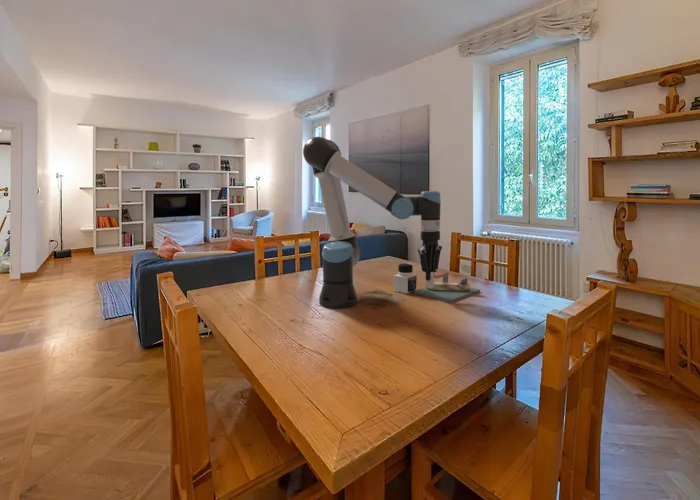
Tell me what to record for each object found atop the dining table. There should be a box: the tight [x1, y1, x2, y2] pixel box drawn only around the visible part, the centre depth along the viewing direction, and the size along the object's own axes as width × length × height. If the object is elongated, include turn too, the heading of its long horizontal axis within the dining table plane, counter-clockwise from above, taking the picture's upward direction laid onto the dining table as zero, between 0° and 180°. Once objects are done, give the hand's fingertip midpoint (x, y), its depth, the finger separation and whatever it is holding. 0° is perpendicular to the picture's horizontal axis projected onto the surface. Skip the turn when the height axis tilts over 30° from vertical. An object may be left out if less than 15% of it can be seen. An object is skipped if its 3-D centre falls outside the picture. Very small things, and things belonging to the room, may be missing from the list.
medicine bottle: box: [393, 262, 417, 294], centre depth 164 cm, size 7×7×12 cm
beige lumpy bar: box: [426, 281, 471, 291], centre depth 162 cm, size 18×5×2 cm, turn 82°
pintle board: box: [413, 271, 481, 304], centre depth 162 cm, size 22×18×6 cm
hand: (429, 287), depth 156 cm, fingers closed
